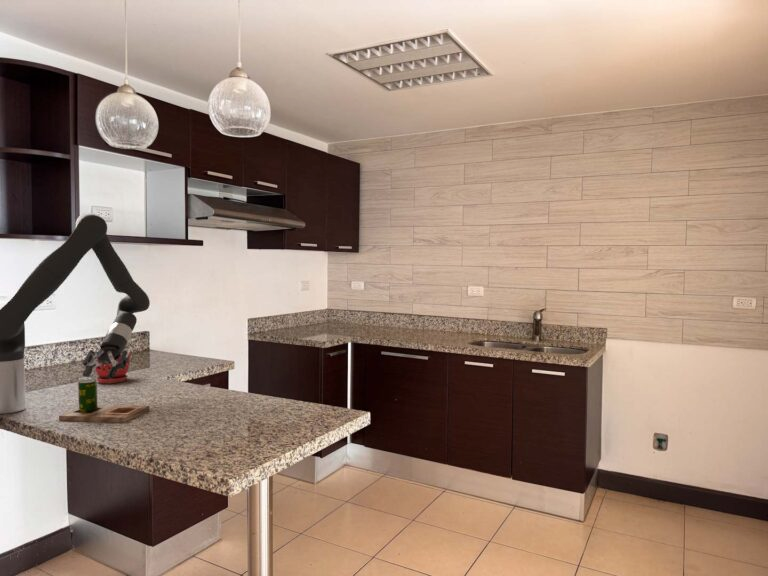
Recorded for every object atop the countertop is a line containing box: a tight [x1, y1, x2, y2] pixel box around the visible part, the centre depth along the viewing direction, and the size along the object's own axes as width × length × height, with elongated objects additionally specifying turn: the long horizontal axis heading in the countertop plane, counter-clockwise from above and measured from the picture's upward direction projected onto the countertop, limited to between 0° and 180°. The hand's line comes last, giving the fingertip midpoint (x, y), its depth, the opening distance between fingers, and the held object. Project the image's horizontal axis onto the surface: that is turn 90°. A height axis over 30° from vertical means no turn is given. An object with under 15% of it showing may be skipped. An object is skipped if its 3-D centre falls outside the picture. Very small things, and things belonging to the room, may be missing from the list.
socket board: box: [58, 403, 150, 423], centre depth 178 cm, size 22×14×2 cm, turn 83°
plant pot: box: [94, 351, 131, 384], centre depth 229 cm, size 13×13×12 cm
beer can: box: [77, 376, 99, 413], centre depth 179 cm, size 5×5×12 cm
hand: (97, 377), depth 184 cm, fingers open, 8 cm apart
